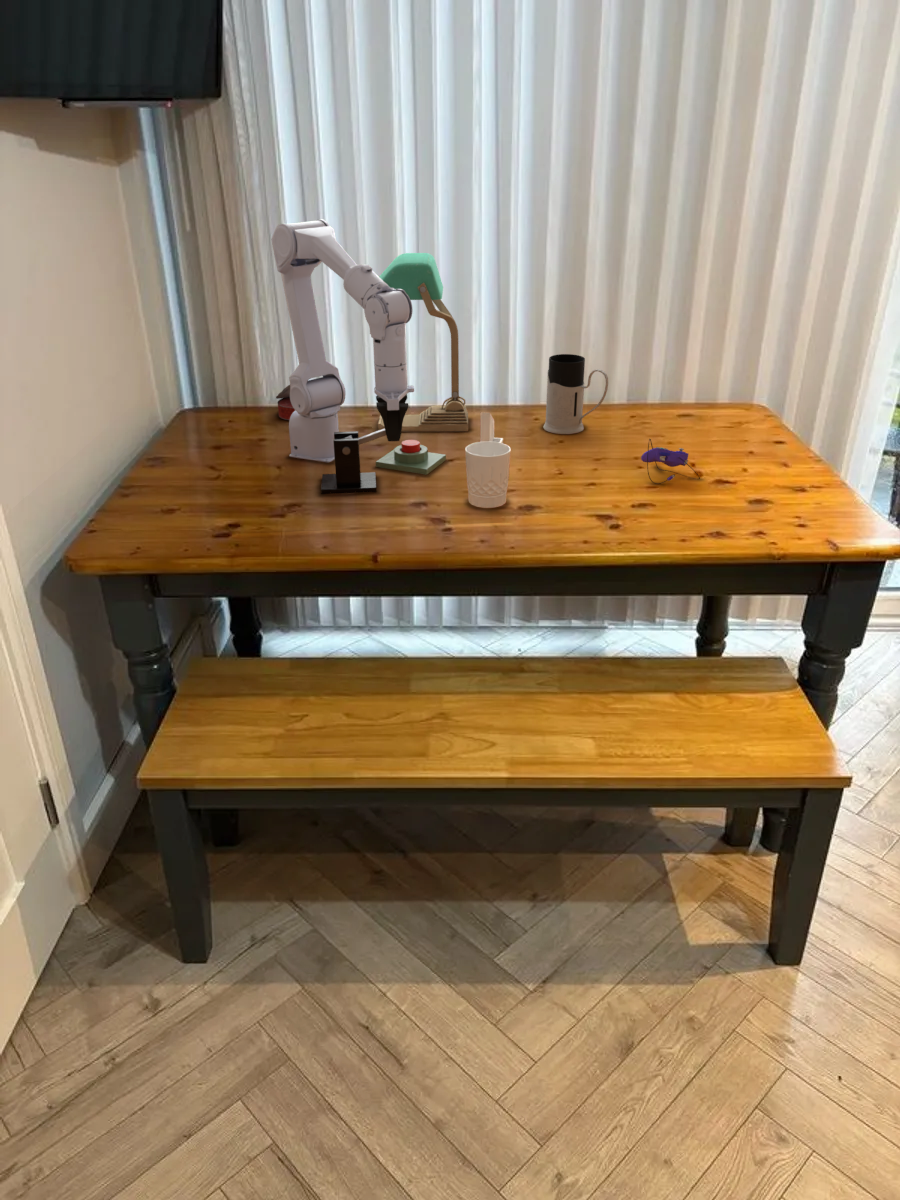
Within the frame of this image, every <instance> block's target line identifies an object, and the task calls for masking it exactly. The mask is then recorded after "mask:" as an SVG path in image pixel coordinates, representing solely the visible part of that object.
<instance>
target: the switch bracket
mask: <svg viewBox="0 0 900 1200" xmlns="http://www.w3.org/2000/svg"><path fill="white" fill-rule="evenodd" d="M348 436H352V438H353V439H342V438H345V437H348ZM356 438H357V439H356ZM358 438H359V430H358V431H339V432H334V441H333V442H334V456H335V460H334V469H335V473H323V474H322V476H321V485H320V495H336V494H361V493H363V494H364V493H377V475H376V473H377V472H375V471H371V472H370V471H369V472H361V456H360V445H359V444H358Z"/></svg>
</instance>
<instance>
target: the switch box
mask: <svg viewBox="0 0 900 1200" xmlns="http://www.w3.org/2000/svg"><path fill="white" fill-rule="evenodd" d="M445 461H447V454H444V453H437V452H430V451H429V450H428V447H427V446H425V445H423V444H420V451H419V452H416V453H405V452H402V447H401V444H400V445H397V446H395V447H394V448H393V450H391V451H389V452H388V453H386V454H384V455H383V456H382V457H381V458H379V459H377V460H376V461H375V467H376V468H380V469H381V468H382V469H387V470H388V469H389V470H394V471H402V472H407V473H414V474H419V475H420V474H421V475H428V474H429V473H431V472H432V471H433V470H435V469H436V468H437V467H439V466H440V465H442V464H443V463H444V462H445Z"/></svg>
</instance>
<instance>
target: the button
mask: <svg viewBox="0 0 900 1200" xmlns="http://www.w3.org/2000/svg"><path fill="white" fill-rule="evenodd" d="M400 445H401V447H402V452H405V453H416V452H419V451H420V445H421V442H420V441H419V440H417V439H406V440H402V441H401V444H400Z"/></svg>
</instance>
